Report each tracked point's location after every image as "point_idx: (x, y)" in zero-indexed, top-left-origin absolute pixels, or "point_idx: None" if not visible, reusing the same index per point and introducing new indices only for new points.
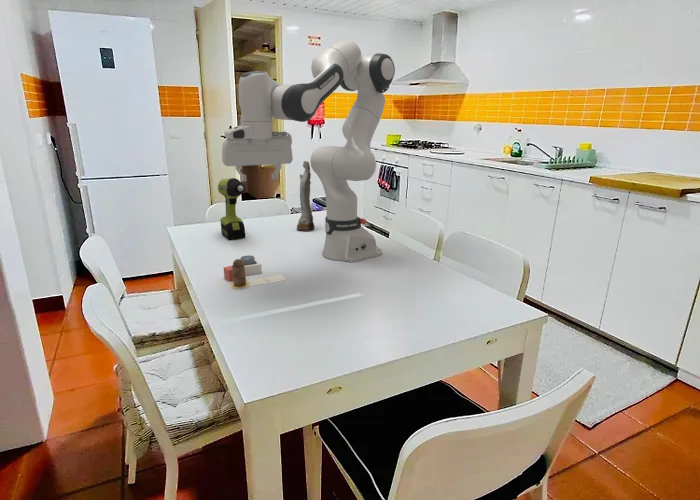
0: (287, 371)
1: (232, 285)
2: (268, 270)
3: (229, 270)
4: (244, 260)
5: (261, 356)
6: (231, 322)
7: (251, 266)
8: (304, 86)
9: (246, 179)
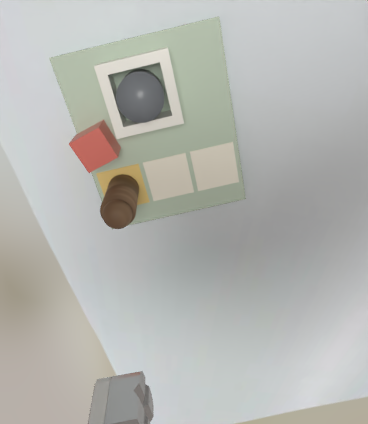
0: (194, 413)
1: (105, 190)
2: None
3: (90, 171)
4: (131, 120)
5: (166, 390)
6: (120, 318)
7: (153, 129)
8: None
9: (152, 414)
